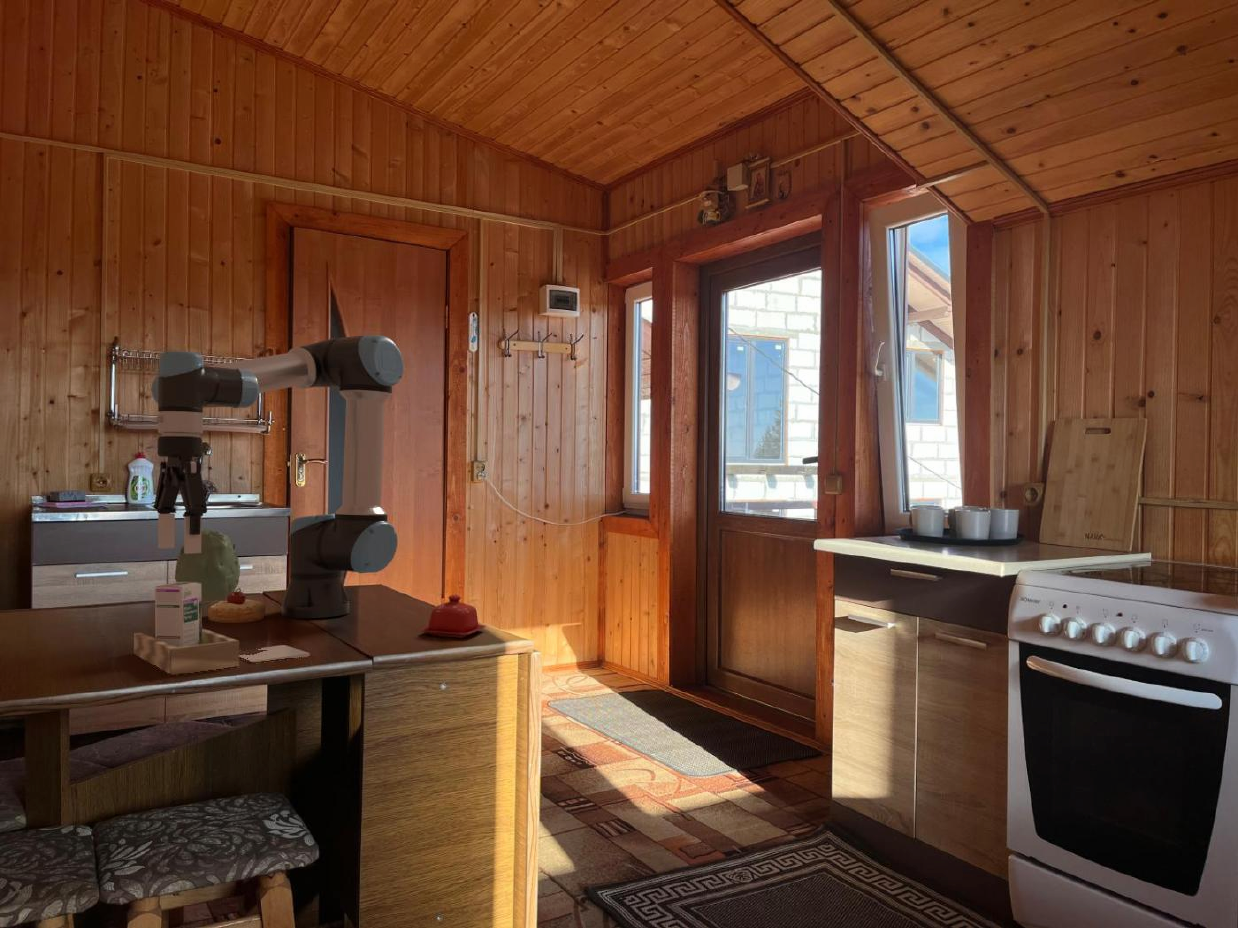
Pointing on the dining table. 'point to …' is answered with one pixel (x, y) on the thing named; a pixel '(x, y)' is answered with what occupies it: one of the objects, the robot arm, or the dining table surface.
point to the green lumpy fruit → (210, 566)
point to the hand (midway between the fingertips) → (179, 550)
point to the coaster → (275, 654)
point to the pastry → (237, 609)
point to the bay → (189, 653)
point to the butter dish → (453, 619)
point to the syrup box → (178, 614)
